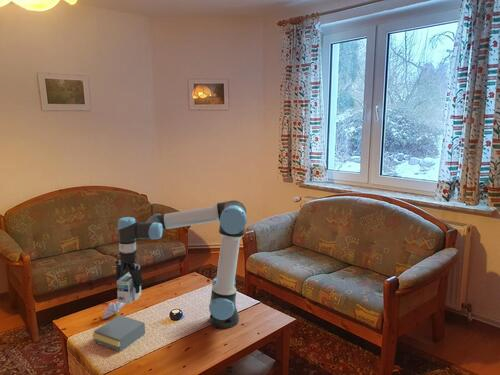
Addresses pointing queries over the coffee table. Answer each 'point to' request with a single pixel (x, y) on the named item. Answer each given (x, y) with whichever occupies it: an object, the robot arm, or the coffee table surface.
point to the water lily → (113, 309)
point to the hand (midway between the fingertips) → (129, 296)
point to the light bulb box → (126, 289)
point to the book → (119, 332)
